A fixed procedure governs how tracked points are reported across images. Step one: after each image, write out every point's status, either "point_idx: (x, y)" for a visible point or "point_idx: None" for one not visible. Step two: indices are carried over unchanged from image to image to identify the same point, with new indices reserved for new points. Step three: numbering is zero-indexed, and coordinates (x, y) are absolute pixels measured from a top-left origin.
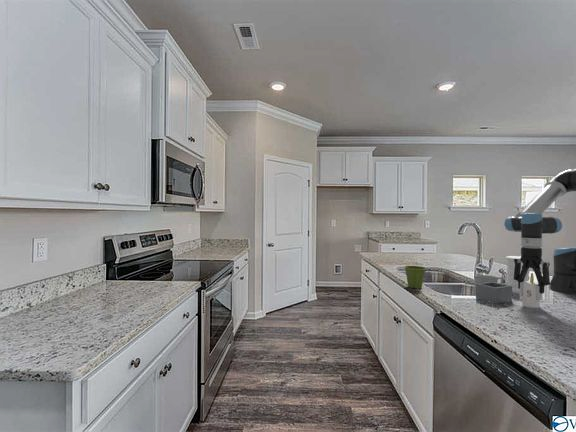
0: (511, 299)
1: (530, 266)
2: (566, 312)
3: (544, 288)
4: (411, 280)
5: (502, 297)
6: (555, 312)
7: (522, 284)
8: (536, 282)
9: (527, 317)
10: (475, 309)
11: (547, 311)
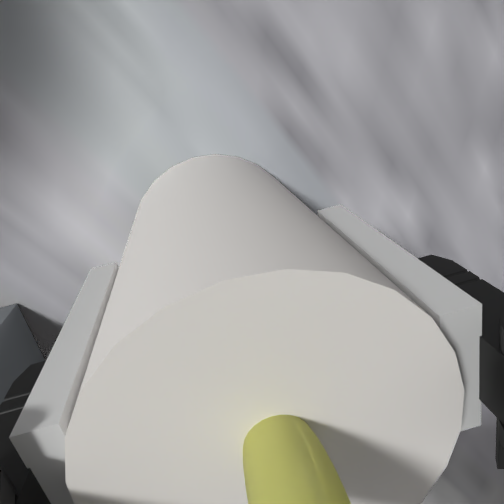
0: (12, 324)
1: None
2: (496, 70)
3: (501, 291)
4: None
5: None
6: (454, 189)
7: None
8: (293, 301)
9: (451, 485)
10: None
11: (407, 236)
